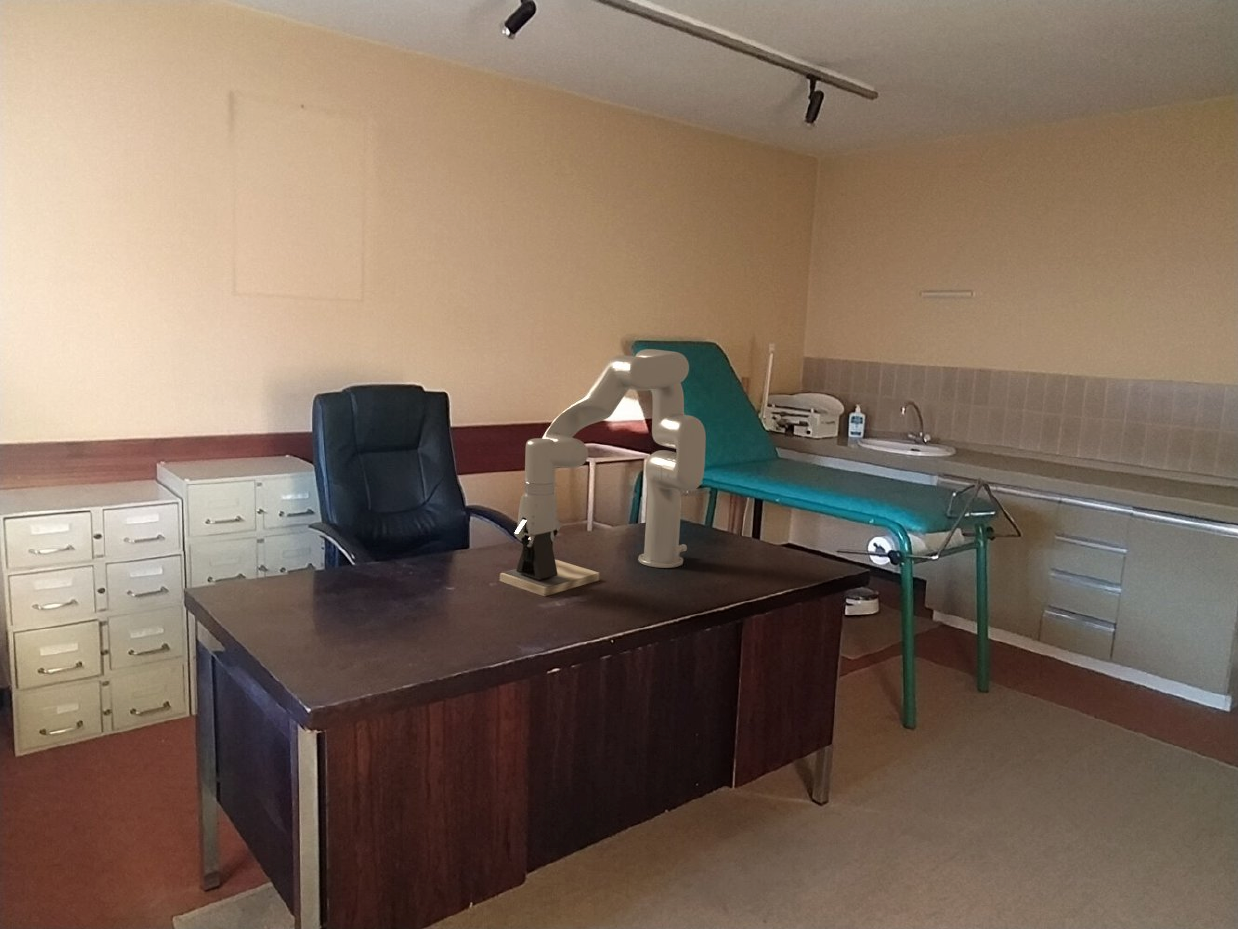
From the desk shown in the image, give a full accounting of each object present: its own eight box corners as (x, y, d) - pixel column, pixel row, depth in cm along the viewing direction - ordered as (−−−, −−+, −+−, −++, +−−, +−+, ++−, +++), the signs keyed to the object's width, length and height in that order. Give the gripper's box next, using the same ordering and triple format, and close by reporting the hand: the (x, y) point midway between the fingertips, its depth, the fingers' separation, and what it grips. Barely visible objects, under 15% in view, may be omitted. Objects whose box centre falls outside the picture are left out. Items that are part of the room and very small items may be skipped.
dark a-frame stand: (557, 576, 225) (559, 529, 223) (539, 580, 220) (541, 533, 218) (534, 567, 231) (535, 522, 229) (516, 571, 226) (517, 525, 224)
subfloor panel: (555, 566, 242) (555, 558, 242) (599, 580, 232) (599, 572, 232) (499, 581, 227) (499, 572, 227) (544, 596, 217) (544, 587, 217)
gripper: (553, 482, 230) (551, 549, 234) (503, 490, 218) (501, 561, 221) (574, 486, 226) (571, 555, 229) (524, 495, 213) (522, 568, 216)
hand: (537, 558), depth 225 cm, fingers closed on dark a-frame stand, 6 cm apart
